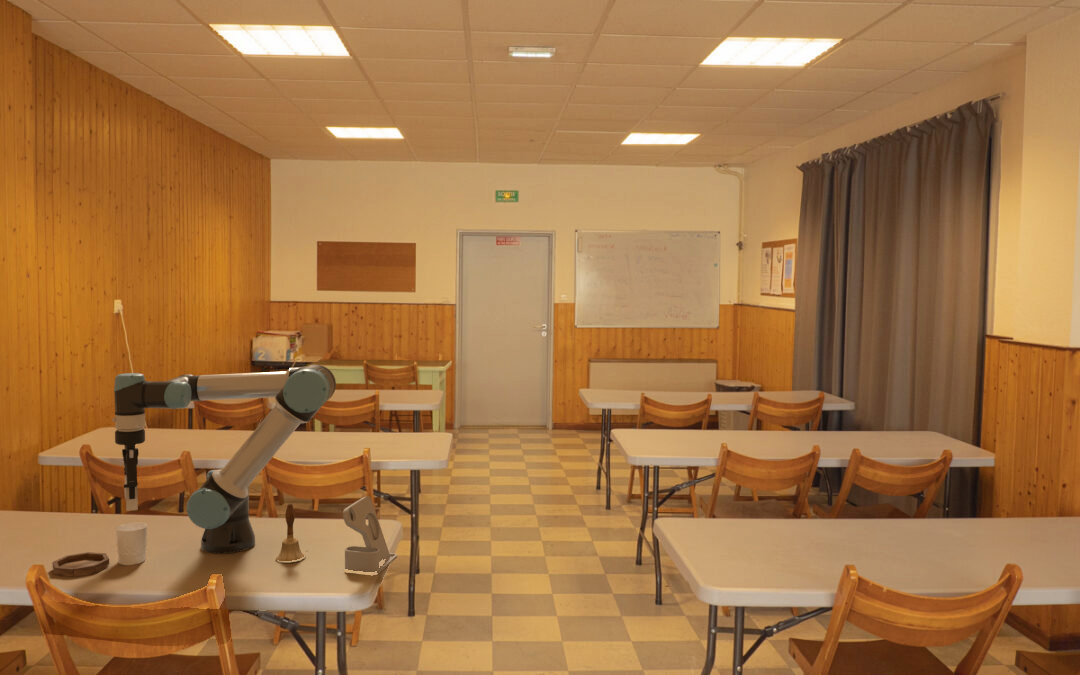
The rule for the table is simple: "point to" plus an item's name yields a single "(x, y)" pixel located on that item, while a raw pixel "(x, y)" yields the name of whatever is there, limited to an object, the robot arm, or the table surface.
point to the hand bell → (290, 539)
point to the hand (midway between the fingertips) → (131, 504)
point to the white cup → (131, 543)
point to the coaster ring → (80, 564)
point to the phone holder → (366, 538)
